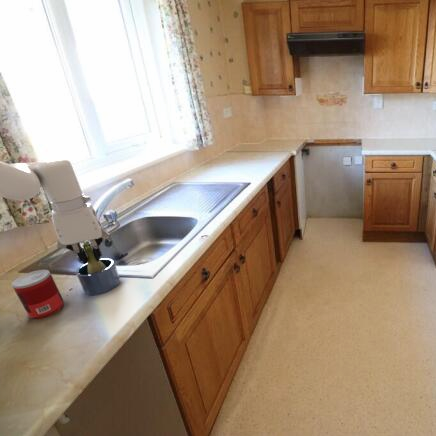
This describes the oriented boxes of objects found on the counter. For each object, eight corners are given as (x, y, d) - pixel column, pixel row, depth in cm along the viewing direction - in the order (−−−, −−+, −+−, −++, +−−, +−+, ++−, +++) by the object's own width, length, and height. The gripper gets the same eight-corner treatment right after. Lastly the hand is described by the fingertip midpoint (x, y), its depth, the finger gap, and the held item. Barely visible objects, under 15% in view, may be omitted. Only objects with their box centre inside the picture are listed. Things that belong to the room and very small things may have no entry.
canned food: (71, 301, 94) (56, 270, 89) (45, 320, 87) (27, 287, 82) (49, 299, 95) (33, 268, 91) (22, 318, 88) (3, 285, 84)
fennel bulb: (95, 273, 101) (82, 240, 96) (112, 271, 102) (100, 238, 97) (87, 284, 96) (72, 249, 91) (105, 281, 97) (92, 247, 92)
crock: (82, 299, 95) (73, 279, 92) (86, 282, 102) (78, 264, 99) (119, 288, 99) (112, 269, 96) (121, 273, 106) (114, 255, 103)
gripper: (104, 193, 95) (123, 247, 103) (35, 205, 88) (61, 262, 96) (102, 201, 89) (122, 258, 97) (28, 215, 82) (56, 274, 90)
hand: (92, 259), depth 97 cm, fingers closed on fennel bulb, 2 cm apart
